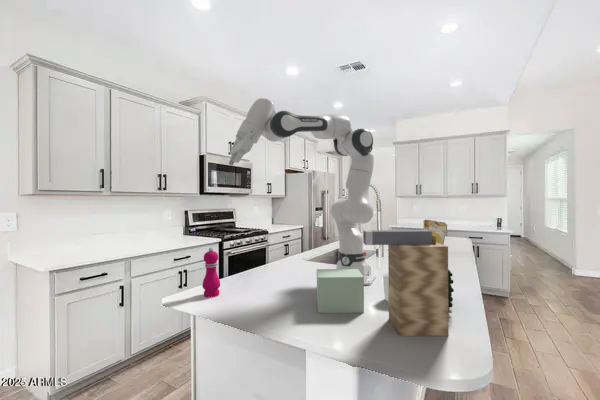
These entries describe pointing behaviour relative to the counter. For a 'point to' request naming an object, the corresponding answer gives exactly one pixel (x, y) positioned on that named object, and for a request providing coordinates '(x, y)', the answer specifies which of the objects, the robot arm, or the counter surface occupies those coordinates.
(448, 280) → the toy figurine
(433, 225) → the pancake mix bag
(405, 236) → the bar
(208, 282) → the pepper mill
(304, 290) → the counter surface
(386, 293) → the white cup
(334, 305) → the green platform
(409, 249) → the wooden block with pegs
